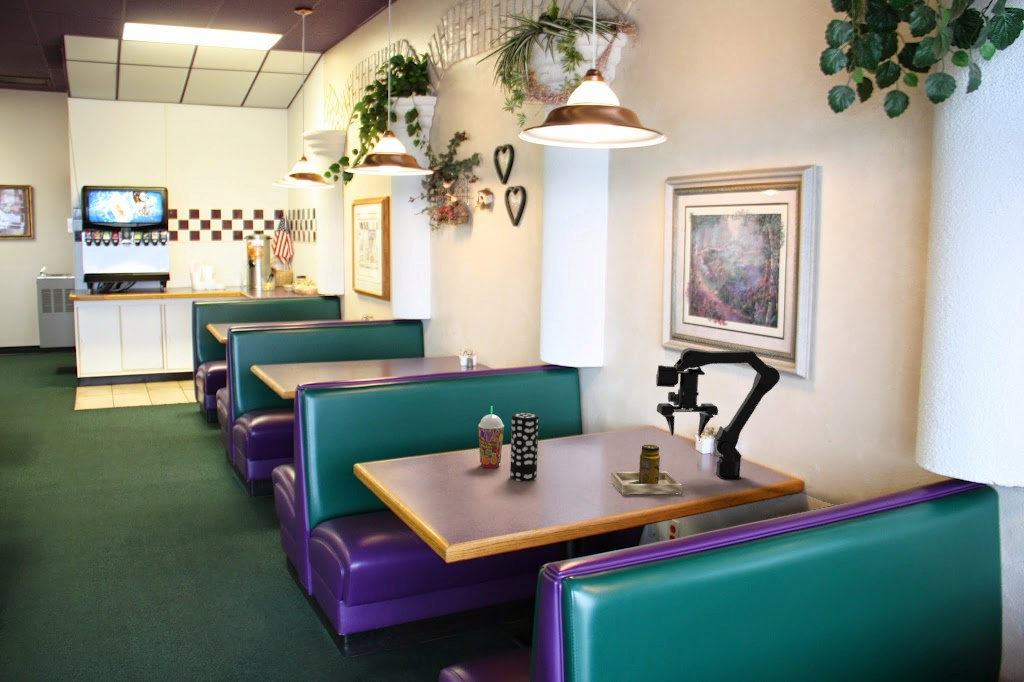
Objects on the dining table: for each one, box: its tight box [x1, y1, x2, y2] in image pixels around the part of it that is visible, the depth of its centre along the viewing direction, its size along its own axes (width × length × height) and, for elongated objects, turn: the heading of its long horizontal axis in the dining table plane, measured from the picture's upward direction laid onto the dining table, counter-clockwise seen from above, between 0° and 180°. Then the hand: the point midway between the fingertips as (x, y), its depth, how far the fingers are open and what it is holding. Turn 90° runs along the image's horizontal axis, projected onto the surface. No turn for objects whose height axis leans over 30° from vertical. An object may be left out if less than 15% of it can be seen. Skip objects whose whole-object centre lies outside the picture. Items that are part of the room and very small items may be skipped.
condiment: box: [628, 444, 661, 484], centre depth 265 cm, size 7×8×12 cm
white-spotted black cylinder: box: [509, 412, 540, 482], centre depth 271 cm, size 8×8×20 cm
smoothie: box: [477, 405, 505, 469], centre depth 284 cm, size 8×8×20 cm
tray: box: [610, 471, 682, 496], centre depth 266 cm, size 18×14×3 cm
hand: (685, 435), depth 280 cm, fingers open, 9 cm apart
